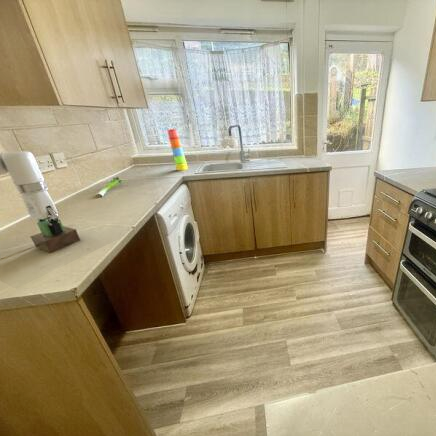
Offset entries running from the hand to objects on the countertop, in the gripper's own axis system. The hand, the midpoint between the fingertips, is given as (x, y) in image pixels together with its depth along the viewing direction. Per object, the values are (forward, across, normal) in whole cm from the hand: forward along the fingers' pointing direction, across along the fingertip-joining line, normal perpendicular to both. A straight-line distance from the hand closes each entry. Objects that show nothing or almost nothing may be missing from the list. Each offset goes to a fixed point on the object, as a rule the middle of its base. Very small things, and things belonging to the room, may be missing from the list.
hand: (53, 231), depth 94 cm
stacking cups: (+6, -56, +118) cm, 131 cm away
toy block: (0, 0, 0) cm, 0 cm away
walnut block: (+5, 0, 0) cm, 5 cm away
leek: (+5, -57, +56) cm, 80 cm away
